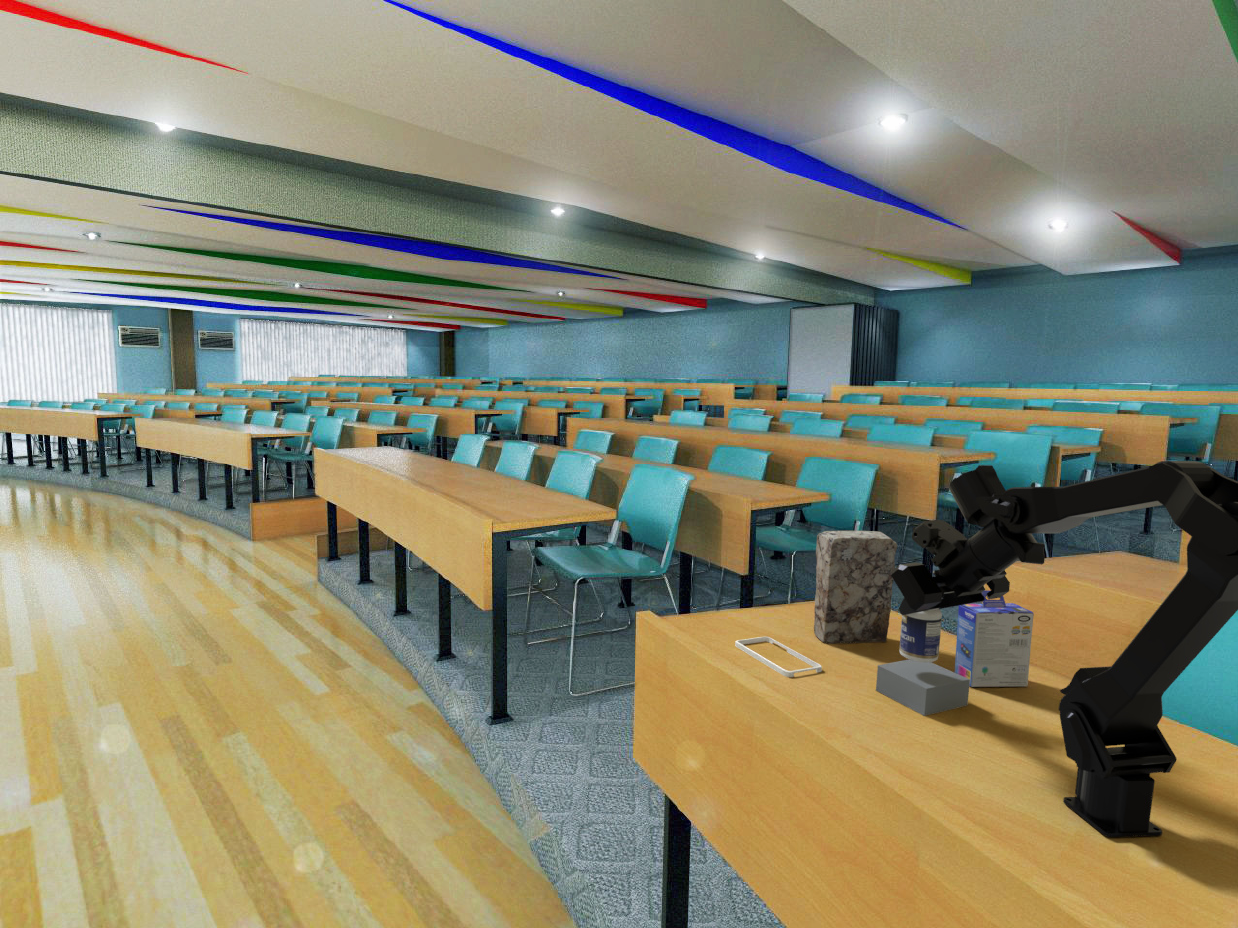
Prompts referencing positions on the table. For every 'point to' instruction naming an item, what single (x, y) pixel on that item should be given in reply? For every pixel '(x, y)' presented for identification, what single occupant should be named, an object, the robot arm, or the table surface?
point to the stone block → (853, 586)
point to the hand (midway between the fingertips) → (914, 609)
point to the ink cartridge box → (994, 643)
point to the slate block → (922, 686)
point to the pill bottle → (921, 635)
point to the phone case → (780, 670)
